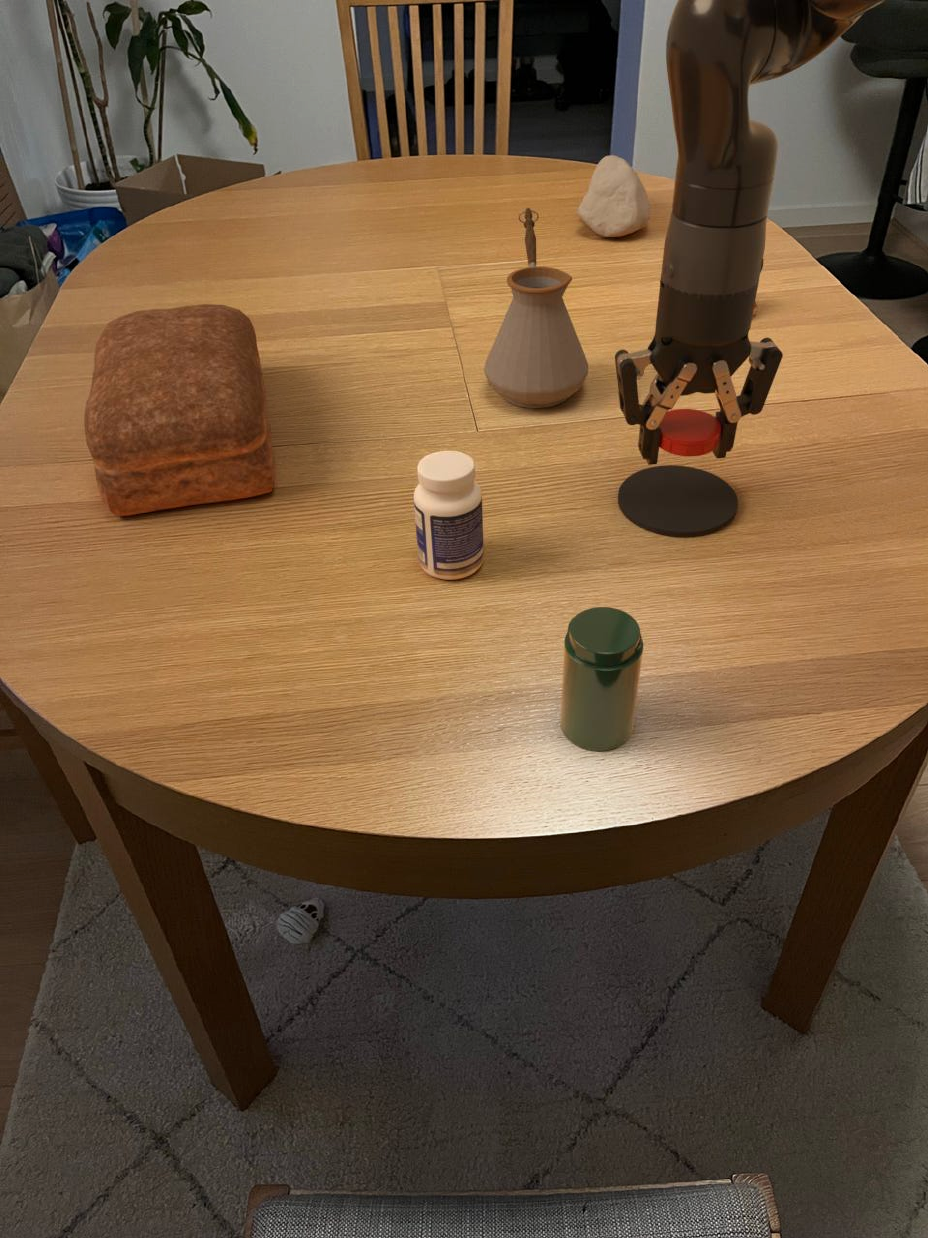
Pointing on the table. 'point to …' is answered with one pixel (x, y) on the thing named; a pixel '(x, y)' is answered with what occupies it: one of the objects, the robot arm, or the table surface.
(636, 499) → the coaster
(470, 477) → the pill bottle
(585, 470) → the table surface
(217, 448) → the bread
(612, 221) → the decorative stone
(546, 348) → the coffee pot
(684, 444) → the lid
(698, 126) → the robot arm
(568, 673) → the jar
